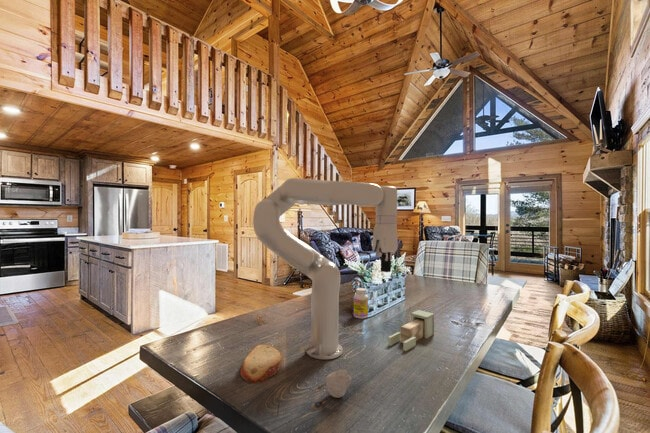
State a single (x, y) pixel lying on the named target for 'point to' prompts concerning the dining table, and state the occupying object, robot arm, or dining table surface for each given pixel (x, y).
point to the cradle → (406, 344)
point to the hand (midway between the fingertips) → (385, 271)
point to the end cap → (428, 321)
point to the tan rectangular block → (413, 330)
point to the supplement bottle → (361, 303)
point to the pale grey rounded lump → (338, 383)
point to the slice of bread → (261, 364)
